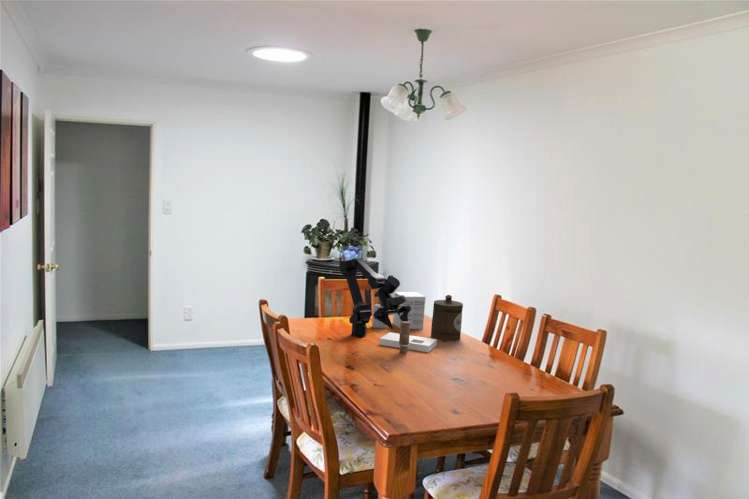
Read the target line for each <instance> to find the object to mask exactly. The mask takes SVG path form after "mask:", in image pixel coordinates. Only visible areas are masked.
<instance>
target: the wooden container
mask: <svg viewBox="0 0 749 499" xmlns="http://www.w3.org/2000/svg"><path fill="white" fill-rule="evenodd" d="M444 297H445V298H444V299H437V300H434V301H433V309H432V319H431V327H430V328H431V330H430V337H431V339H437V341H439V340H440V342H447V341H453V342H458V341H460V340H461V331H462V321H463V308H464V305H463V304H464V303H463V302H461V301H456V300H453V296H452V295H450V294H447V295H445V296H444Z"/></svg>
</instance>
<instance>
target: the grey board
mask: <svg viewBox="0 0 749 499" xmlns="http://www.w3.org/2000/svg"><path fill="white" fill-rule="evenodd" d="M399 338H400V333H396V332H388V333H386V334H384V335H383V336H382V337H379V345H380V346H385V347H392V348H399V349H400V345H399ZM437 341H438V340H437V339H433V338H432V337H431V338H430V337H423V336H417V335H416V336H415V335H411V334H409V346H408V347H407V350H411V351H419V352H424V353H429V352H431V351H432V350H433V349H435V348H436V347H437V343H438V342H437Z"/></svg>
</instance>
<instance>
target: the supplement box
mask: <svg viewBox="0 0 749 499" xmlns="http://www.w3.org/2000/svg"><path fill="white" fill-rule="evenodd" d="M401 295H404V297H405V299H406V301H405V302H404V303H403V304H400V306H399V307H398V308H397V309H400V308H401V307H402V306H405V305H409V306H410V307H411V309H412V310H411V311H410V312H409V313H408V322H410V330H423V329H424V321H425V320H424V319H425V310H426V307H425V306H426V296H425V295H423V294H422V293H419V292H417V291H394V297H399V296H401ZM392 315H393V316H392V325H395V326H396V327H397V328H399V329H400V323H401V319H400V318H399V317H400V316H399V315H398V313H397V314H392Z"/></svg>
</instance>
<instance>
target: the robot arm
mask: <svg viewBox="0 0 749 499" xmlns="http://www.w3.org/2000/svg"><path fill="white" fill-rule="evenodd" d="M338 268H339V271H340V273H341V275H342V276H343V277H344V278H345V279H346V281H347V285H348V289H349V292H350V295H351V299H352V302H353V308H352V315H351V316H350V317H349V318H348V319H349V323H350V324H351V333H350V336H352V337H359V338H363V337H365V336H367V331H368V326H367V324H369V323H370V320H371V317H372V310H371V307H370V305H369V303H368V304H367V303H365V301H364V299H363V296H362V292H361V289H360V285H359V281H358V278H357V274H358V271H359V273H361V274H362V276H364V277H365V279H367V283H368V285H369V286H370V288H371V289H372V290H375V294H374V298H378V299H379V301H380V304H381V307H383V308H378V309H377V310H376V312H375V313H374V318H375V319H378V321H381V322H382V323H384V324H385V325H386V327H388V328H390V329H391V330H393V329H394V326H393V322H391V319H390V317H389V315H393V314H397V313H398V315H399V316H400V317H399V318H400V319H401V321H407V322H408V313H409V312H410V311H411V310H412V309H411V307H410V306H409V305H405V306H402V307H401V308H400V309H397V308H398V307H399V306H400V304H403V303H404V302H405V301H406V299H405V297H404V295H401V296H399V297H395V296H394V297H393V296H392V294H395V292H396V290H398V288H399V287H400V285H401V282H400V280H399V279H398V278H396V277H395V276H394V275H392V274H391V275H388V276H387V278H386V277H385V276H384V275H382V274H381V273H377V272H375V271H374V270H373V269H372V268H371V267H370V266H369V265H368V264H367V263H366V262H365V261H364V258H362V257H356V258H352V259H349V260H342V261H340V263H339V267H338ZM377 289H378V290H377Z"/></svg>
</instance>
